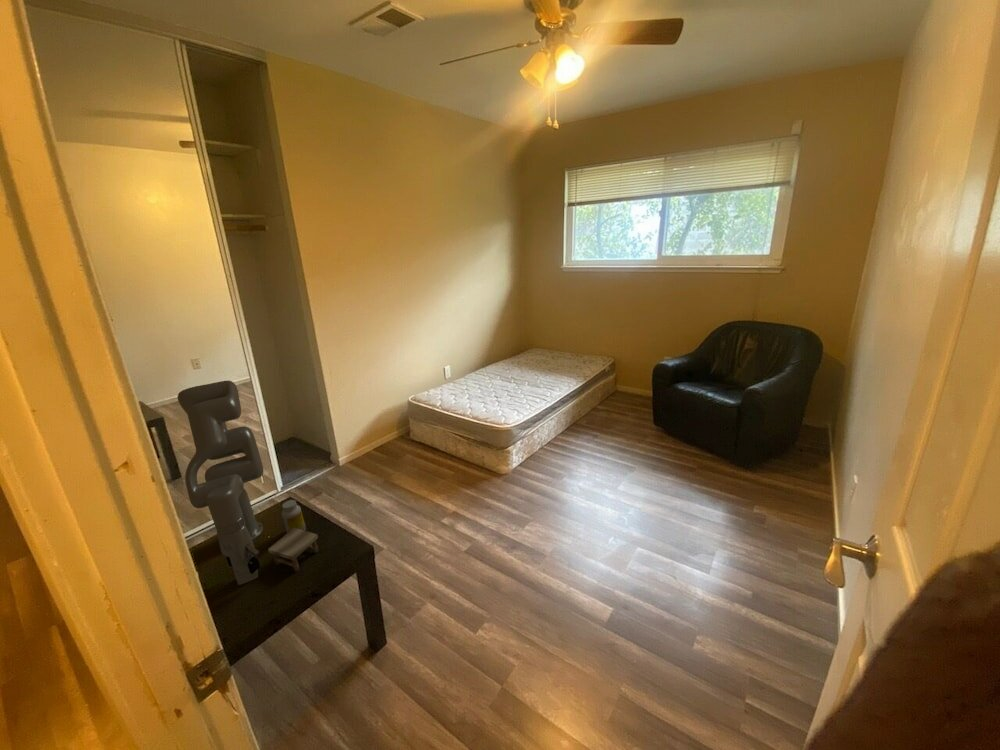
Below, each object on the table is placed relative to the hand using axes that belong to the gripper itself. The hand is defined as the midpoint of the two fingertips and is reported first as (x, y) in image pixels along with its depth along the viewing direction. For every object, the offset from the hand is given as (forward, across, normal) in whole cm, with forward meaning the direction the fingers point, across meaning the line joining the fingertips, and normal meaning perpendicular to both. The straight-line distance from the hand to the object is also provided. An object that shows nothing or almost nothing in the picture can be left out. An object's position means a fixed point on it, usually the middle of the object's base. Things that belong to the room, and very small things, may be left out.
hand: (244, 566), depth 132 cm
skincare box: (+5, -1, 0) cm, 5 cm away
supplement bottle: (+5, -3, +22) cm, 23 cm away
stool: (+5, +8, +12) cm, 16 cm away
